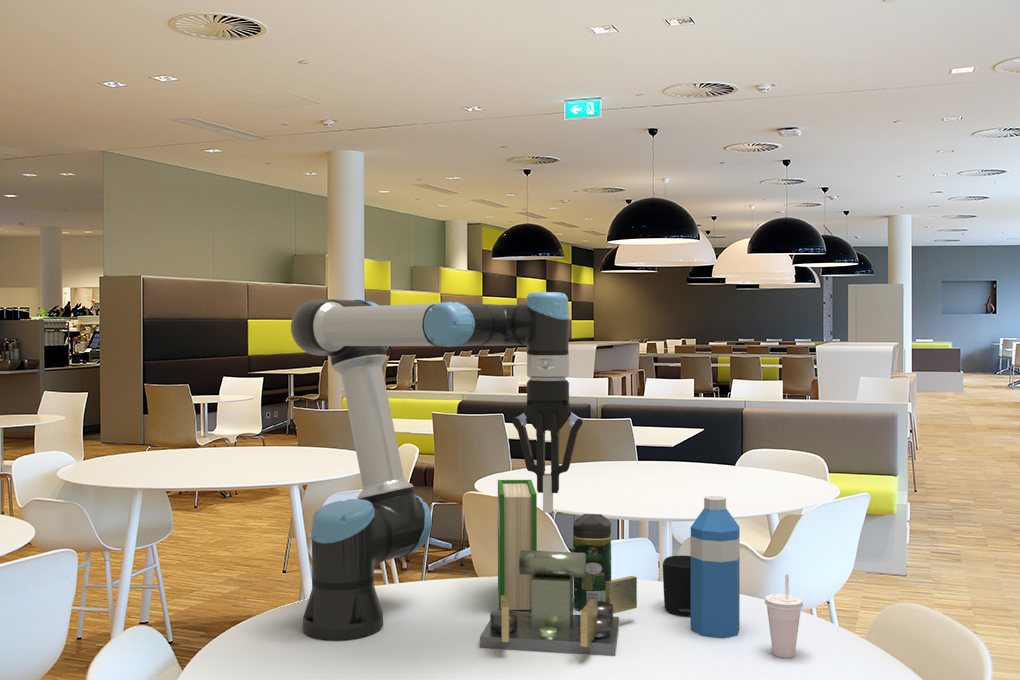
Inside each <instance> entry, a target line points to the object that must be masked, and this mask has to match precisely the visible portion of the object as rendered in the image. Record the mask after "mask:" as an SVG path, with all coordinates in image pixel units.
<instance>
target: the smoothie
mask: <svg viewBox="0 0 1020 680" xmlns="http://www.w3.org/2000/svg"><path fill="white" fill-rule="evenodd" d="M784 576H785V577H784V578H785V581H784V582H785V583H784V586H785V590H784V593H771V594H768V595H766V596H765V597H764V604H765V605H766V609H767V617H768V624H769V633H770V635H769V636H770V641H771V651H772V655H774V656H775V657H777V658H783V659H791V658H794V657H795V656H796V649H797V643H798V642H797V641H798V633H799V625H800V618H801V611H802V608H803V607H804V603H803V599H802V598H800V597H799V596H796V595H792V594H789V593H790V592H789V588H790V587H789V586H790V585H789V583H790V582H789V581H790V578H789V577H790V576H789V573H785V574H784Z"/></svg>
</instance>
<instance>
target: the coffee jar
mask: <svg viewBox="0 0 1020 680" xmlns="http://www.w3.org/2000/svg"><path fill="white" fill-rule="evenodd" d="M572 527H573V529H572V530H573V531H572V532H573V533H572V552H577V553H585V554H586V573H585V577H573V606H574V608H576V609H577V610H580V611H581V610H582V609H583V608H584V607H585V605H586V604H587V603H588V602H589V601H590V600H591V599H592V600H597V601H604V602H606V581H610V580H612V523H611V521H610V520H609V519H608V518H607V517H606V516H604V515H603V514H600V513H583V514H582V515H581V516H578V517H576V518H575V520H574V521H573V526H572Z"/></svg>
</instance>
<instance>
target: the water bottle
mask: <svg viewBox="0 0 1020 680" xmlns="http://www.w3.org/2000/svg"><path fill="white" fill-rule="evenodd" d="M703 507H704V508H703V509H702V511H701V512H700V513H699V515H698V516H697V517H696V518H695V520H694V522H693V523H692V524H691V526H690V556H691V617H690V631H692V632H694V633H695V634H698V635H699V636H701V637H707V638H716V639H725V638H731V637H736V636H738V635H739V632H740V629H741V628H740V623H741V622H740V620H741V619H740V617H741V616H740V610H741V609H740V608H741V607H740V594H741V593H740V582H741V581H740V576H741V575H740V562H741V561H740V553H741V551H740V548H741V546H740V545H741V544H740V542H741V541H740V534H741V533H740V532H741V530H740V525H739V523H738V522H737V521H736V520H735V518H734V517H733V516H732V514H731V513H730V511H729V510H728V509H727V497H725V496H720V495H708V496H706V495H705V497H704V498H703Z"/></svg>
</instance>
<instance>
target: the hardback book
mask: <svg viewBox="0 0 1020 680" xmlns="http://www.w3.org/2000/svg"><path fill="white" fill-rule="evenodd" d="M537 495H538V494H537V491H536V489H535V486H534V483H533V481H532V479H497V594H498V607H499V609H498V610H501V595H507V597H508V605H509V610H512V611H517V610H518V611H519V610H520V611H521V610H522V611H526V610H528V611H532V578H533V576H534V575H521V574H520V572H519V557H520V552H521V550H527V551H538V548H537V543H538V542H537V541H538V539H537V538H538V536H537V535H538V533H537V532H538V531H537V530H538V529H537V526H538V524H537V521H538V520H537V519H538V518H537V517H538V516H537V515H538V514H537V513H538V512H537V511H538V509H537V503H538V501H537V497H538V496H537Z"/></svg>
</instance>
